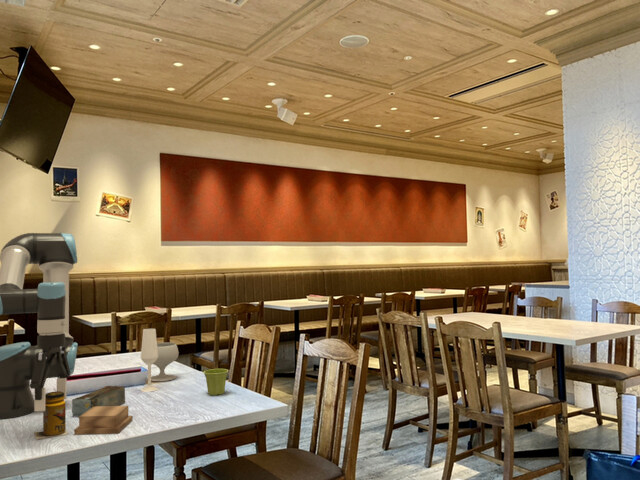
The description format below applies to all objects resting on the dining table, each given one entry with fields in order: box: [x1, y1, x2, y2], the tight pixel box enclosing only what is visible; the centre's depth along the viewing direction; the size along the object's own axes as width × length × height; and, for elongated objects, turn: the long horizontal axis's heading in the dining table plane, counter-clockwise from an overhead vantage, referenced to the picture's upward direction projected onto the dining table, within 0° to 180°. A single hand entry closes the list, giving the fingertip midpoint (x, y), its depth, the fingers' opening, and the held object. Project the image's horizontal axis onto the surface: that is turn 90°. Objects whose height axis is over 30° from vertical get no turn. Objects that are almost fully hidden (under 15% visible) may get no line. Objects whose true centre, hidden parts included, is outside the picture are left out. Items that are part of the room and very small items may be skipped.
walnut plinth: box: [73, 405, 134, 436], centre depth 165 cm, size 13×13×5 cm
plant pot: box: [203, 368, 229, 396], centre depth 204 cm, size 9×9×9 cm
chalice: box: [151, 342, 180, 382], centre depth 232 cm, size 14×14×15 cm
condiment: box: [33, 390, 69, 441], centre depth 159 cm, size 7×8×12 cm
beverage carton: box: [71, 385, 126, 418], centre depth 185 cm, size 8×19×7 cm, turn 165°
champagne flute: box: [140, 328, 159, 393], centre depth 213 cm, size 7×7×24 cm
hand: (51, 405), depth 159 cm, fingers open, 13 cm apart
